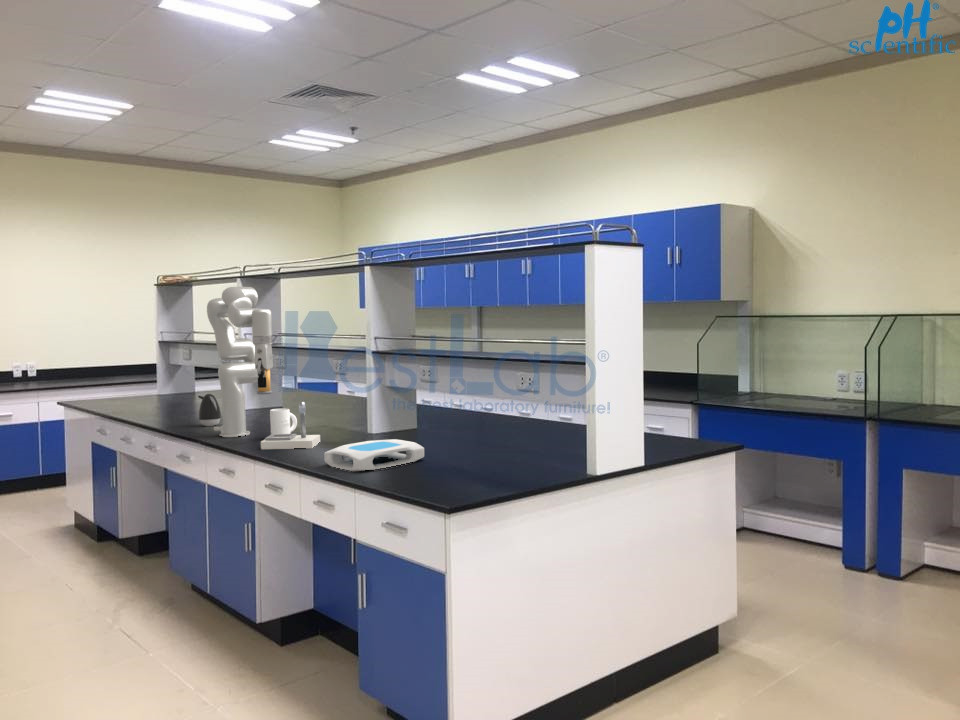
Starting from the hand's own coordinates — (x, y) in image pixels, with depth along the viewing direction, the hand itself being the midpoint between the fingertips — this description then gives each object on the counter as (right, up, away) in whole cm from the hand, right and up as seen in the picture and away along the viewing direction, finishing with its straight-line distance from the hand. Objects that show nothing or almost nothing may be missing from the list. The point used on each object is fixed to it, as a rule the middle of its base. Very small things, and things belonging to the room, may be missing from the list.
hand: (264, 386), depth 310 cm
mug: (+3, -23, +22) cm, 32 cm away
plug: (0, -3, 0) cm, 3 cm away
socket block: (+10, -24, +1) cm, 26 cm away
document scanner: (+49, -26, -37) cm, 67 cm away
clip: (+17, -21, -5) cm, 27 cm away
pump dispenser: (-43, -21, +62) cm, 78 cm away
